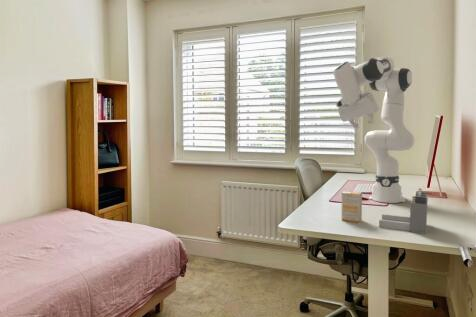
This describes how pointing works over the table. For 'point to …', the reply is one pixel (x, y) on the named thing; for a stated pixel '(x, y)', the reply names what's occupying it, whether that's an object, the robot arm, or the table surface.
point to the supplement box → (351, 206)
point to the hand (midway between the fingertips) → (363, 126)
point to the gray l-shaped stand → (416, 216)
